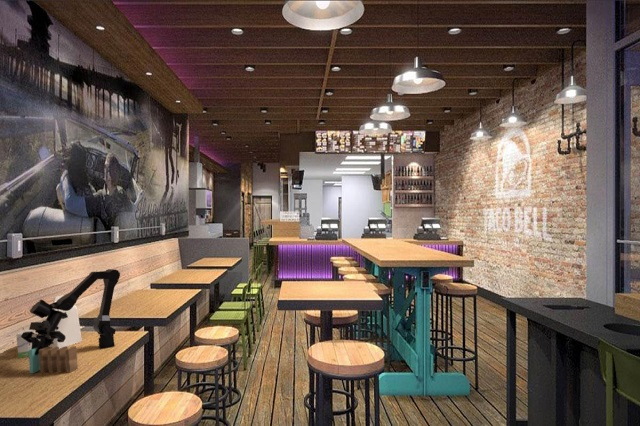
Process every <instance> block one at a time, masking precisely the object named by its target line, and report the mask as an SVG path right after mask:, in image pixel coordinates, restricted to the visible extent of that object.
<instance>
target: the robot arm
mask: <svg viewBox="0 0 640 426" xmlns="http://www.w3.org/2000/svg"><path fill="white" fill-rule="evenodd" d="M120 278H121V272H120V271H119V270H117V269H114V268H113V269H111V268H108V269H106V270H104V271H103V270H102V271H94V270H93V271H91V272H89V274H88V275H87V276H86V277H85V278H84V279H82V281H81V282H80V283H79V284H78V285H76V286H75V287H74V288H73V289H72V290H71V291H70V292H68V293H66V294H63V295H64V296H63V297H61V298H60V299H58V300H57V302H55V303H53V302H52V303H48V302H46V301H45V300H44V299H40V300H39V301H38V302H36V303H35V304H33V306H32V307H31V308H30V309H29V313H31V314H33V315H35V316H37V317H38V318H40V319H43V318H46V319H45V320H42V321H34V322H33V321H32V322H30V326H29V328H28V330H33V332H24V333H23V334H22V336H21V337H22V338H23V339H24V340H26V341H27V342H29V343H32V348H31V349H34V348H37V349H36V351H35V355H37V354H39V350H40V349H43V348H45V347H50V345H51V344H53V343H54V342H53V341H54V339H57V341H58V342H64V340H65V335H64V334H62V333H61V332H60V331H55V330H58V328H59V327H57V326H58V324H59V322H60V321H61V319H65V318H67V317H68V316H67V314H66V312H65V313H63V312H61V311H59V310H63V311H68V310H70V309H71V308H72V307H73V306H74V305H76V303H77V301H78V300H79V297H81V296H82V295H83V294H84V293H85V292H86V291H87V290H88V289H89V288H90V287H91V286H92V285H93V284H94V283H95V282H96V281H97V280H102V281H103V285H104V288H103V291H102V298H101V301H100V302H101V303H100V309H99V313H98V315H97V317H93V323H92V325H91V326H93V327H92V328H93V330H94V331H95V332H96V333H97V335H99V338H98V347H99V348H100V349H101V350H102V349H106V348H112V347H115V345H116V343H115V338H114V336H115V334H116V329H115V328H114V327H113V326H111V317H110V312H111V308H112V302H113V297H114V291H115V286H116V285H117V284H118V282H119V279H120ZM54 309H57V311H56V310H54ZM34 331H35V332H34Z"/></svg>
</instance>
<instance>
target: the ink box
mask: <svg viewBox="0 0 640 426" xmlns="http://www.w3.org/2000/svg"><path fill="white" fill-rule="evenodd" d="M24 332H33V333H34V330H29V329H23V330H20V331H19V332H18V333H17V334H15V335H16V344H17V356H18V357H17V358H18V359H22V358H27V357H28V358H29V350H31V348H32V343H29V342H27V341H26V340H24V339H23V338H22V337H21V336H22V334H23V333H24Z"/></svg>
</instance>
